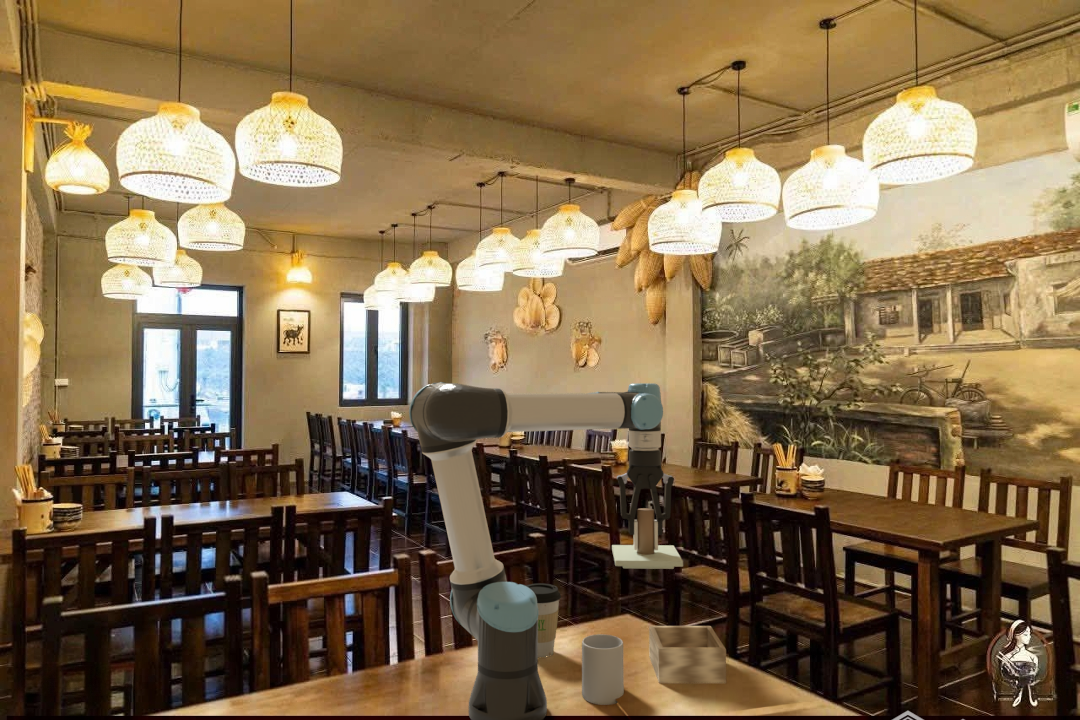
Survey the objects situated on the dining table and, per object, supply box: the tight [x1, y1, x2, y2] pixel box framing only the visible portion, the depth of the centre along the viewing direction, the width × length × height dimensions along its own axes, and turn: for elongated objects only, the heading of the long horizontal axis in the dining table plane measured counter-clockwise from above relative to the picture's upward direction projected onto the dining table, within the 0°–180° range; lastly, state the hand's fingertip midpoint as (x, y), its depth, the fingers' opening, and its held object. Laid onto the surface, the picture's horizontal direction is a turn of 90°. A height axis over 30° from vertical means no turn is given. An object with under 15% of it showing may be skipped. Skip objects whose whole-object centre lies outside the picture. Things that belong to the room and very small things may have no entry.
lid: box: [611, 507, 684, 570], centre depth 167 cm, size 15×15×12 cm
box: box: [648, 625, 727, 684], centre depth 156 cm, size 14×14×8 cm
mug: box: [581, 633, 625, 706], centre depth 147 cm, size 12×8×11 cm
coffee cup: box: [525, 582, 562, 658], centre depth 168 cm, size 10×10×15 cm
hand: (645, 548), depth 167 cm, fingers closed on lid, 4 cm apart
